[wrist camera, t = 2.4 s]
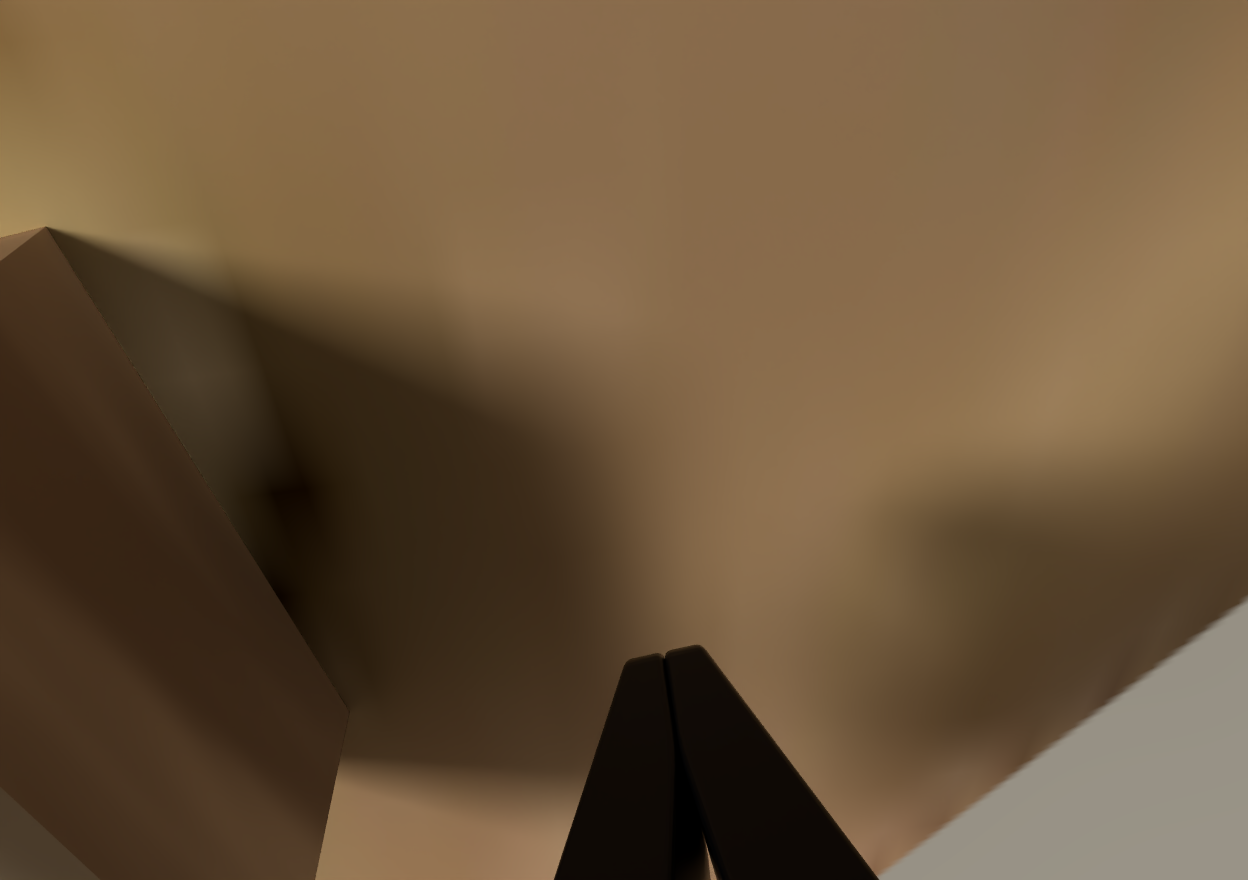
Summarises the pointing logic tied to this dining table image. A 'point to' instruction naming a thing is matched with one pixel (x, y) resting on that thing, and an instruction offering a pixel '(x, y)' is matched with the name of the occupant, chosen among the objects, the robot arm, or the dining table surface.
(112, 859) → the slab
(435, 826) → the dining table surface
